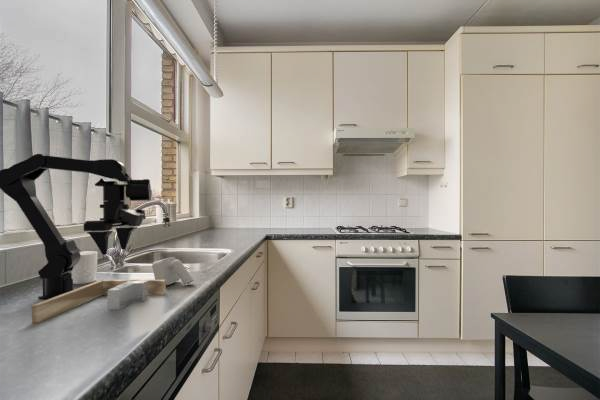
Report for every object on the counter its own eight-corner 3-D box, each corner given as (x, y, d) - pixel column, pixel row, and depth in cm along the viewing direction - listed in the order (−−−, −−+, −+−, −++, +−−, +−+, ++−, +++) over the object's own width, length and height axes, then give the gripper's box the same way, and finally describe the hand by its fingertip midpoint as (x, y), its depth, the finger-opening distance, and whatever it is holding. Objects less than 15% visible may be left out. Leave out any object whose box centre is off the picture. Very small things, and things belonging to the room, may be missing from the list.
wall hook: (186, 287, 97) (179, 255, 97) (158, 293, 99) (151, 262, 99) (200, 280, 104) (193, 251, 105) (173, 286, 106) (166, 258, 107)
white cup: (102, 280, 108) (102, 252, 108) (76, 286, 102) (76, 255, 102) (91, 278, 113) (91, 250, 113) (65, 282, 106) (65, 253, 106)
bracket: (128, 298, 87) (128, 281, 88) (147, 298, 87) (147, 280, 87) (107, 309, 78) (107, 290, 79) (129, 309, 78) (128, 290, 78)
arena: (32, 323, 70) (32, 305, 70) (101, 293, 93) (101, 279, 93) (117, 323, 70) (117, 305, 70) (165, 293, 92) (165, 279, 93)
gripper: (120, 200, 86) (121, 257, 86) (155, 200, 104) (155, 247, 104) (81, 201, 86) (82, 257, 86) (122, 201, 105) (123, 247, 105)
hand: (114, 251), depth 95 cm, fingers open, 9 cm apart
